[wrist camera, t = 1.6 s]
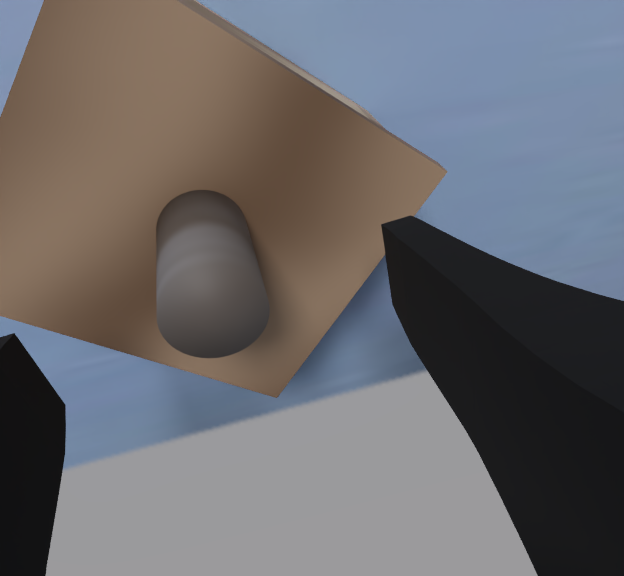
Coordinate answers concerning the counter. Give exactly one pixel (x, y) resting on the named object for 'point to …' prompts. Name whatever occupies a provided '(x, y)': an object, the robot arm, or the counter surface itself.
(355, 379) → the counter surface
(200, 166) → the lid
